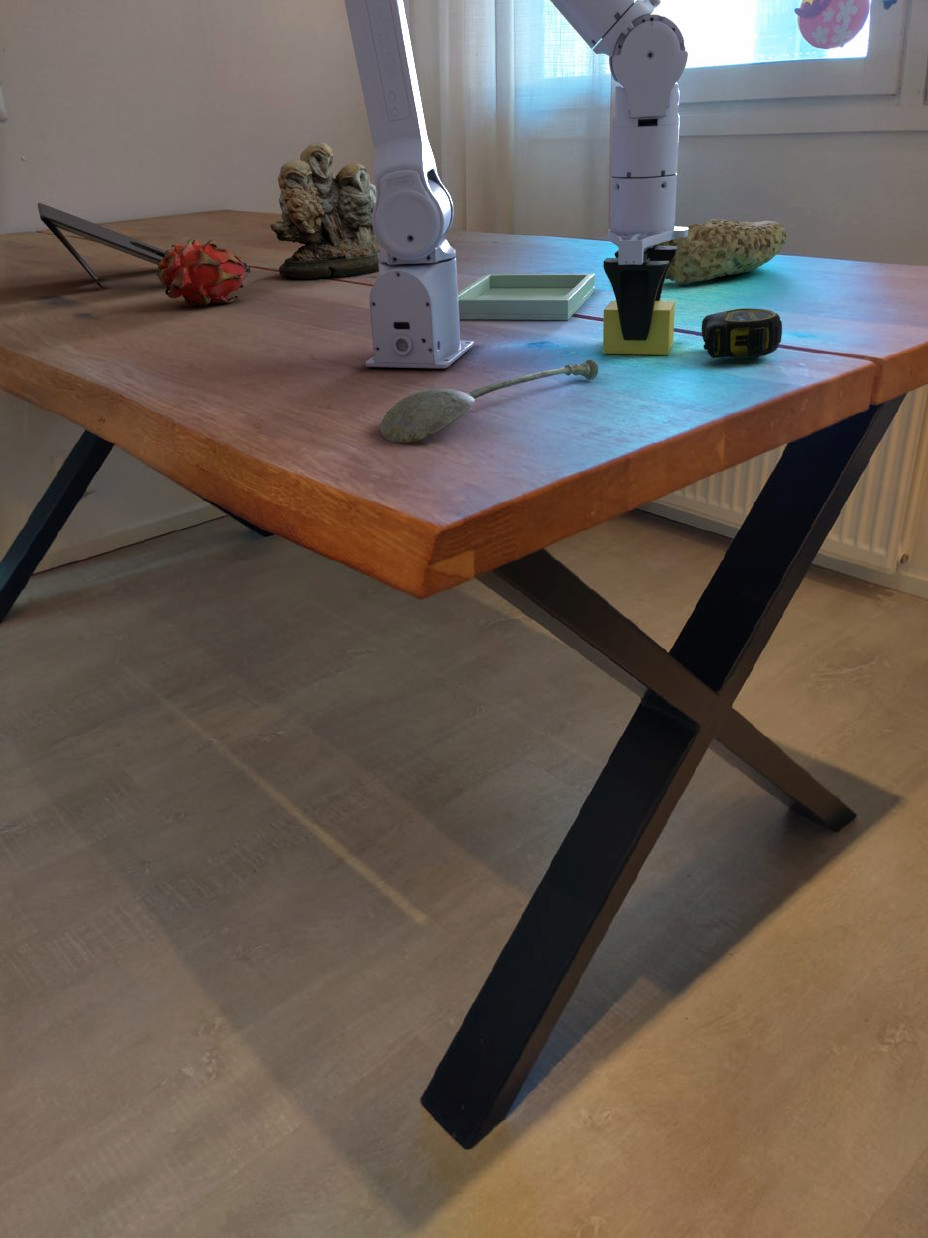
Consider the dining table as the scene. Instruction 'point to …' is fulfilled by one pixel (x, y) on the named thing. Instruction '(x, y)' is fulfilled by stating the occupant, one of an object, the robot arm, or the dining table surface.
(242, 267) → the dragon fruit
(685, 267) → the sponge
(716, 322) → the tape measure
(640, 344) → the yellow block
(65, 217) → the laptop tray
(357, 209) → the owl figurine
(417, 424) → the soupspoon
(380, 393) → the dining table surface
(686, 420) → the dining table surface
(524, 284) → the tray
